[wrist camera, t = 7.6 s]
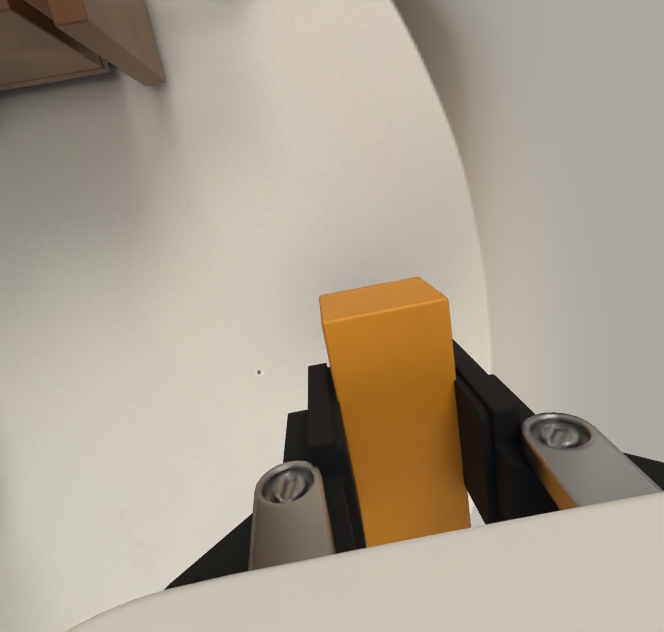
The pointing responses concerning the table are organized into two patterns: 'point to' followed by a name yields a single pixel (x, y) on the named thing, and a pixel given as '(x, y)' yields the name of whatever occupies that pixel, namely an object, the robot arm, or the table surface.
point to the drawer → (75, 41)
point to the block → (398, 407)
